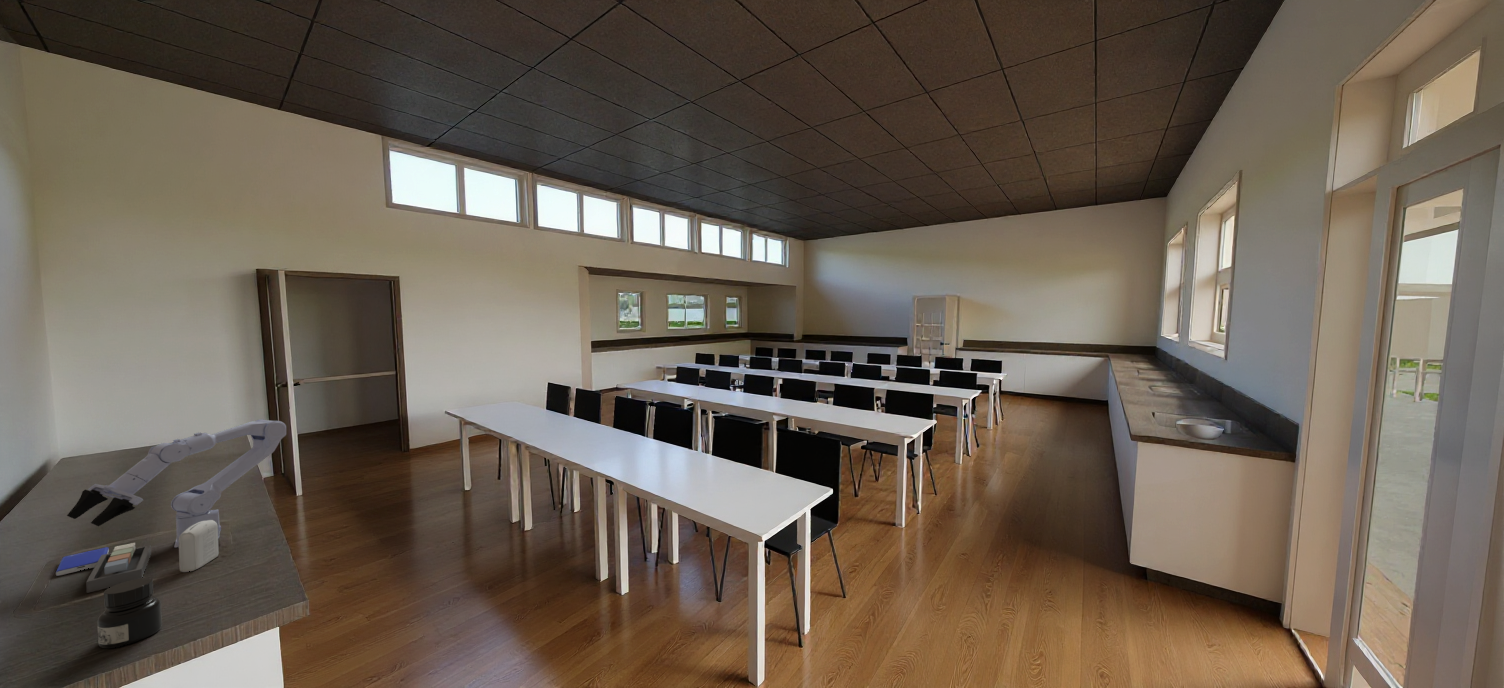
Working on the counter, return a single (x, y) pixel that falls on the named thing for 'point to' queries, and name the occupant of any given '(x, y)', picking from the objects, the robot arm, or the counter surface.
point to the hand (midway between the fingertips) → (82, 521)
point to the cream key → (125, 547)
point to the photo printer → (198, 545)
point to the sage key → (122, 552)
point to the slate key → (116, 566)
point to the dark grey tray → (133, 572)
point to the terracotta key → (120, 557)
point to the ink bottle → (129, 613)
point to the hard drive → (80, 561)
